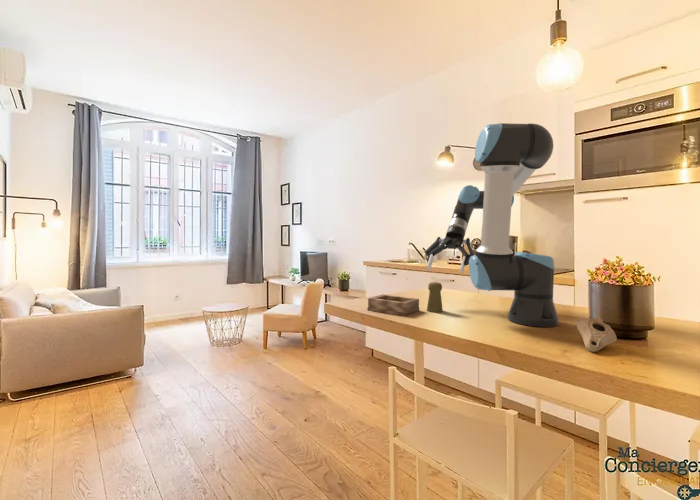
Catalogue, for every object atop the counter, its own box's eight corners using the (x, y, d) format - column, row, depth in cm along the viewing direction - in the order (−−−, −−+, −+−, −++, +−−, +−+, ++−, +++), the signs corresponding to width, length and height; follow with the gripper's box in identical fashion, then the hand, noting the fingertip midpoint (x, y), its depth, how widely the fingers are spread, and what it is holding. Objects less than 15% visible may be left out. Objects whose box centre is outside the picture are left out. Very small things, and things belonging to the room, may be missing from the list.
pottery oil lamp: (569, 349, 91) (570, 322, 91) (579, 339, 100) (580, 314, 99) (611, 357, 85) (612, 328, 85) (618, 346, 94) (619, 319, 93)
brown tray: (419, 310, 136) (419, 298, 135) (404, 316, 126) (404, 303, 126) (383, 305, 145) (383, 294, 145) (367, 310, 136) (367, 298, 135)
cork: (431, 308, 139) (431, 280, 139) (445, 310, 135) (445, 282, 135) (423, 311, 134) (424, 282, 134) (438, 313, 131) (439, 284, 130)
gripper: (487, 237, 148) (477, 278, 137) (431, 235, 162) (417, 272, 151) (485, 225, 143) (474, 266, 132) (427, 224, 157) (412, 261, 146)
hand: (444, 269), depth 141 cm, fingers open, 13 cm apart
